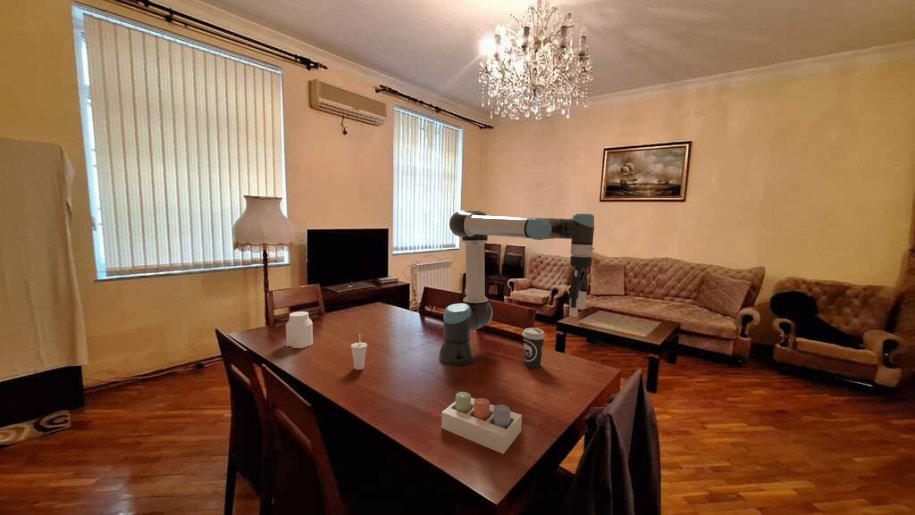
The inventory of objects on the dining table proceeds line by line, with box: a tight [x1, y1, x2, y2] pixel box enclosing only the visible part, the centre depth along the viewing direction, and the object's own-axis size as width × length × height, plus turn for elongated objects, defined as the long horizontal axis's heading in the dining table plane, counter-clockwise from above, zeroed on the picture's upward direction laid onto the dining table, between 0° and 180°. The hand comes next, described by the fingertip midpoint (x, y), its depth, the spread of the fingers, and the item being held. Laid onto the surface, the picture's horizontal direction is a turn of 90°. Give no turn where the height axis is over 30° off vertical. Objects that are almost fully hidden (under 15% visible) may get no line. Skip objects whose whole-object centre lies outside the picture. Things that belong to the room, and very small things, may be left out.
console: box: [441, 397, 523, 455], centre depth 101 cm, size 20×12×5 cm, turn 57°
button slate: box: [493, 404, 511, 429], centre depth 98 cm, size 5×5×6 cm
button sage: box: [455, 391, 472, 414], centre depth 104 cm, size 5×5×6 cm
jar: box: [285, 311, 314, 349], centre depth 165 cm, size 12×10×15 cm
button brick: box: [474, 397, 491, 421], centre depth 101 cm, size 5×5×6 cm
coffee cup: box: [521, 327, 546, 369], centre depth 146 cm, size 10×10×15 cm
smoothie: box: [350, 333, 368, 371], centre depth 140 cm, size 6×6×14 cm
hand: (577, 311), depth 131 cm, fingers open, 13 cm apart
